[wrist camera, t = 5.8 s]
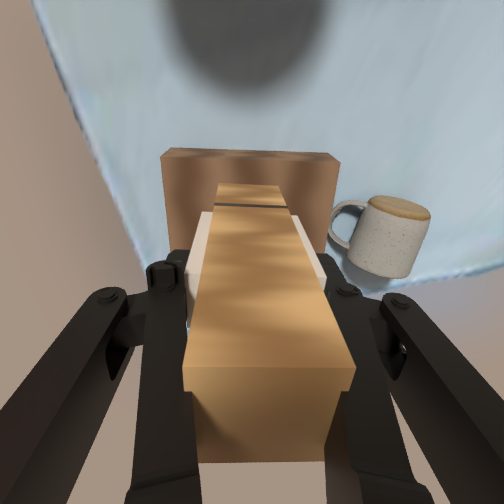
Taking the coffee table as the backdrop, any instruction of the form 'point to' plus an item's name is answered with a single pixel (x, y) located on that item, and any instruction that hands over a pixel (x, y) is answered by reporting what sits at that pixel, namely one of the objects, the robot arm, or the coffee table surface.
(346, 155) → the coffee table surface
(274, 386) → the oak peg
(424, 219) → the ceramic mug
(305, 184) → the walnut socket block
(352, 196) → the coffee table surface
